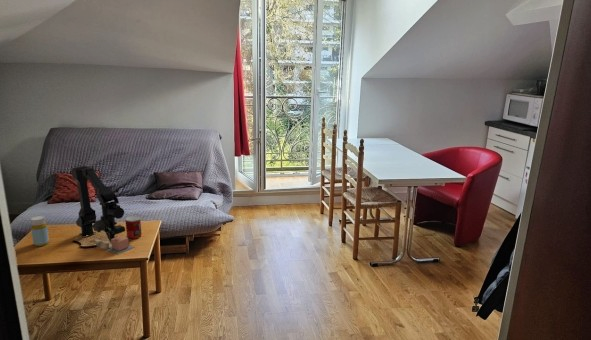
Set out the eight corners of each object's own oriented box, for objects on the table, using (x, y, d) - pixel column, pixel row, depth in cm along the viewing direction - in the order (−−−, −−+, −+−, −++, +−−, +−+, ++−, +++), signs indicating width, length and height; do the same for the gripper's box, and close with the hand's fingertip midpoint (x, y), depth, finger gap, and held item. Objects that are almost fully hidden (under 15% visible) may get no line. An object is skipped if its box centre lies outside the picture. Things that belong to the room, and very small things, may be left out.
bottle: (52, 242, 221) (48, 216, 217) (39, 247, 215) (35, 221, 211) (43, 240, 224) (39, 214, 220) (31, 245, 218) (26, 218, 214)
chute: (93, 244, 220) (92, 239, 219) (110, 238, 228) (109, 233, 228) (106, 250, 214) (106, 245, 213) (123, 243, 222) (123, 238, 222)
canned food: (136, 239, 227) (135, 221, 224) (123, 238, 228) (122, 220, 225) (144, 234, 234) (143, 216, 231) (131, 233, 236) (130, 215, 233)
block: (111, 248, 215) (110, 239, 214) (121, 244, 220) (121, 235, 218) (119, 251, 212) (118, 242, 210) (129, 246, 217) (128, 238, 215)
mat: (107, 250, 214) (107, 249, 214) (124, 243, 222) (124, 243, 222) (117, 254, 209) (117, 253, 209) (134, 247, 218) (134, 246, 218)
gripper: (83, 214, 213) (86, 242, 218) (105, 222, 204) (108, 251, 208) (102, 208, 223) (105, 235, 227) (124, 216, 213) (127, 243, 217)
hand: (111, 241), depth 219 cm, fingers closed
